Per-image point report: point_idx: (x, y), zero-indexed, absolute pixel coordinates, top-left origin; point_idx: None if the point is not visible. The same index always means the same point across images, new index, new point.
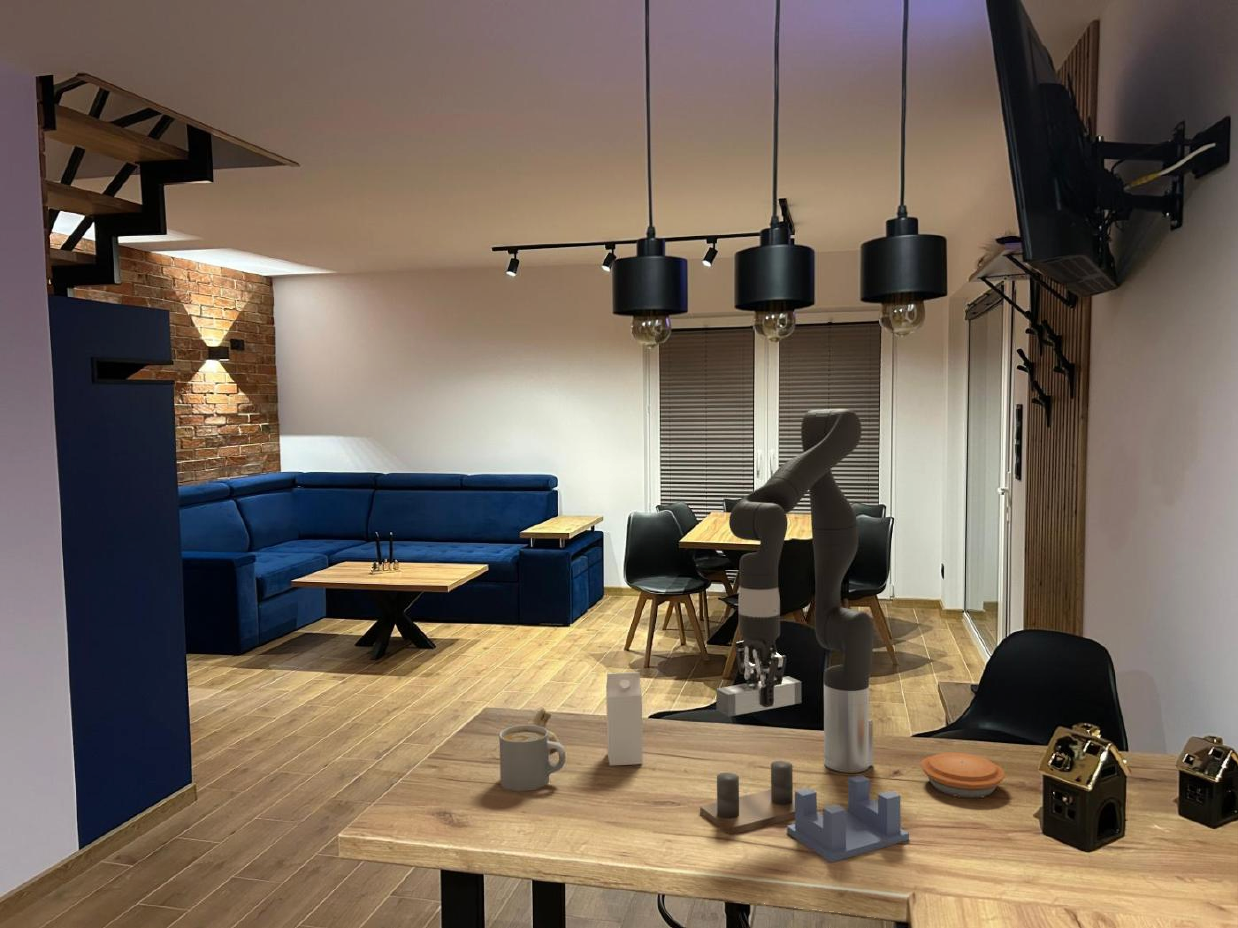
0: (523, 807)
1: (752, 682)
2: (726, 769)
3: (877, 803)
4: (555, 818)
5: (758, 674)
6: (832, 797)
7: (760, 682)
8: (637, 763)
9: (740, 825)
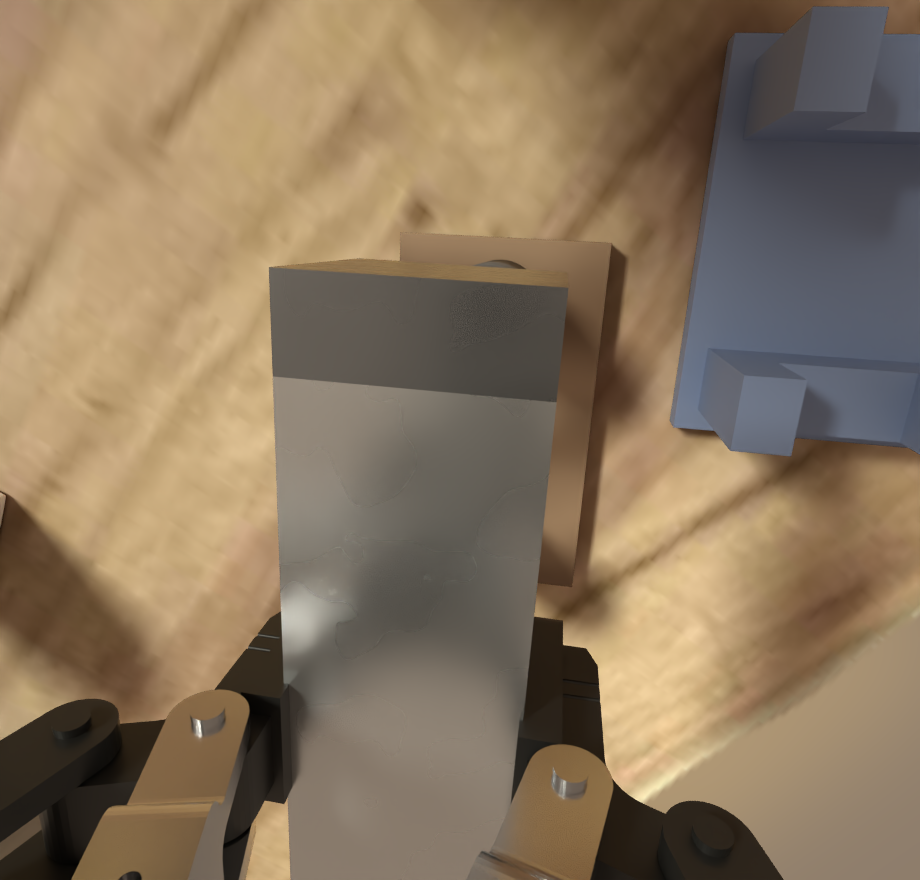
0: None
1: (289, 751)
2: (139, 270)
3: (910, 49)
4: (253, 846)
5: (242, 735)
6: (546, 53)
7: (328, 697)
8: (2, 510)
9: (576, 547)
